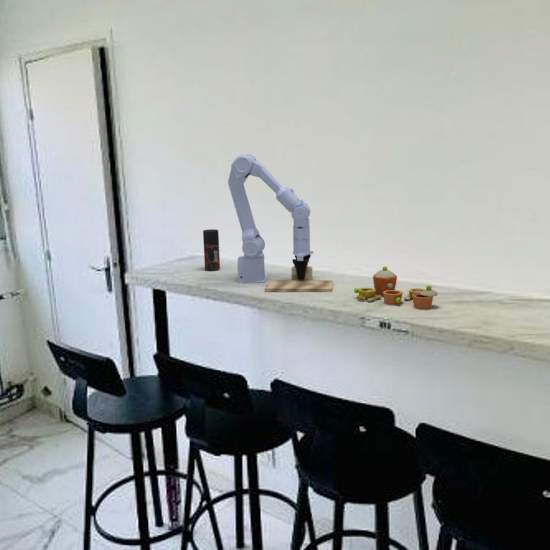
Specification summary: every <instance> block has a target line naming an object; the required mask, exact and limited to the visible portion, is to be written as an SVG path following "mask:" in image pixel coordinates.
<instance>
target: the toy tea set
mask: <svg viewBox="0 0 550 550" xmlns="http://www.w3.org/2000/svg"><path fill="white" fill-rule="evenodd" d="M372 279H373V280H372V281H373V287H374V288H373V287H359V288H358V287H355V288H354V290H353V292H354V293H355V294H357V295H356V298H355V300H356V301H358V302H363V303H367V302H369V303H371V302H375V301H376V302H377V301H378V300H379V299H381V298H382V297H383V302H384V304H385V305H390V306H392V305H393V306H396V305H397V306H398V305H400V304H401V303H402V298H403V300H407V301H408V302H412V300H413V308H414V307H415V309H416V308H417V309H418V310H430V309H431V308H432V305H433V299H434V297H437V296H439V295H438V294H439V293H438V292H437V291H436V290H434V289H432V286H431V285H426V287H425V288H421V287H419V288H417V287H416V288H410V289H409V290H408V293H407V295H406V296H404V297H403V292H402V291H400V290H397V289H396V288H397V287H396V286H397V282H398V281H397V280H398V276H397V274H396V273H394V272H393V271H391V270H390V269H388V266H383V267H382V269H381V270H378V271H376V273H375V274H373V276H372Z"/></svg>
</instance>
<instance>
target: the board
mask: <svg viewBox="0 0 550 550" xmlns="http://www.w3.org/2000/svg"><path fill="white" fill-rule="evenodd" d="M333 288H334V280H327V279H326V280H320V279H319V280H316V279H315V280H313V279H312V280H292V279H289V280H288V279H287V280H286V279H281V280H280V279H269V280H268V282H267V284H266V285H265V287H264V293H333Z"/></svg>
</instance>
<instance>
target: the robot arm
mask: <svg viewBox="0 0 550 550" xmlns="http://www.w3.org/2000/svg"><path fill="white" fill-rule="evenodd" d="M230 167H231V168H230V172H229V177H228V179H227V180H228V181H227V184H228V188H229V191H230V194H231V198H232V202H233V205H234V208H235V212H236V216H237V218H238V222H239V226H240V229H241V240H242V247H241V249H242V252H243V256H242V255H241V256H238V258H237V283H238V284H240V283H241V284H264V283H266V281H267V279H268V276H265V275H266V274H265V271H266V270H265V253H264V252H263V251H264V249H265V248H266V247H265V246H266V243H265V240H264V238H262V236H261V234H260V231H259V229H258V228H257V227H256V224H255V219H254V217H253V216H254V215H253V212H252V210H251V206H250V203H249V199H248V195H247V192H246V189H245V185H244V184H245V183H246V181H247V179H248V177H249V176H252V177H256V178H259V179H261V181H263V183H265V184H266V185H267V187H269V188H270V189H271V190H272V192H274V193H275V195H276V197H275V199H276V200H277V201H278V202H279V203H280V204H281V206H283V207H284V209H286V210H287V212H289V213H290V214H291V215H290V216H291V217H292V220H293V226H292V228H293V230H292V231H293V232H292V233H293V234H292V237H293V239H292V240H293V244H292V245H293V246H292V247H293V251H292V254H293V256H294V258H293V259H292V260H291V261H292V263H293V266H295V268H296V272H297V277H298V280H304V278H305V273H306V267H307V266H308V265H309V262H310V258H311V257H312V254H314V250H311V228H310V227H311V226H310V218H309V217H310V215H311V209H310V207H309V205H308V203H305V201H304V200H303V199H300V197H298V195H297V194H296V193H295V190H294V189H293V188H290V187H289V186H283V185H282V184H281V183H280V182H279V181H278V180H277V178H276V177H274V175H273V174H272V173H271V172H270V170H268V169H267V167H266V166H265V165H264V164H263V163H262V162H261V161H259V160H257V159H256V157H255V156H254V155H252V154H245V155H243V154H242V155H239V156H237V157H236V158H235V159H234V161H233V162H232V163H231V165H230Z"/></svg>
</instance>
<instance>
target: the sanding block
mask: <svg viewBox="0 0 550 550" xmlns="http://www.w3.org/2000/svg"><path fill="white" fill-rule="evenodd" d="M290 270H291V271H290V272H291V280H298V277H297V272H296V268H295V266H294V265H293V266H292V267H291V269H290ZM304 280H313V266H311V265H309V266H307V267H306V273H305V278H304Z"/></svg>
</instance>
